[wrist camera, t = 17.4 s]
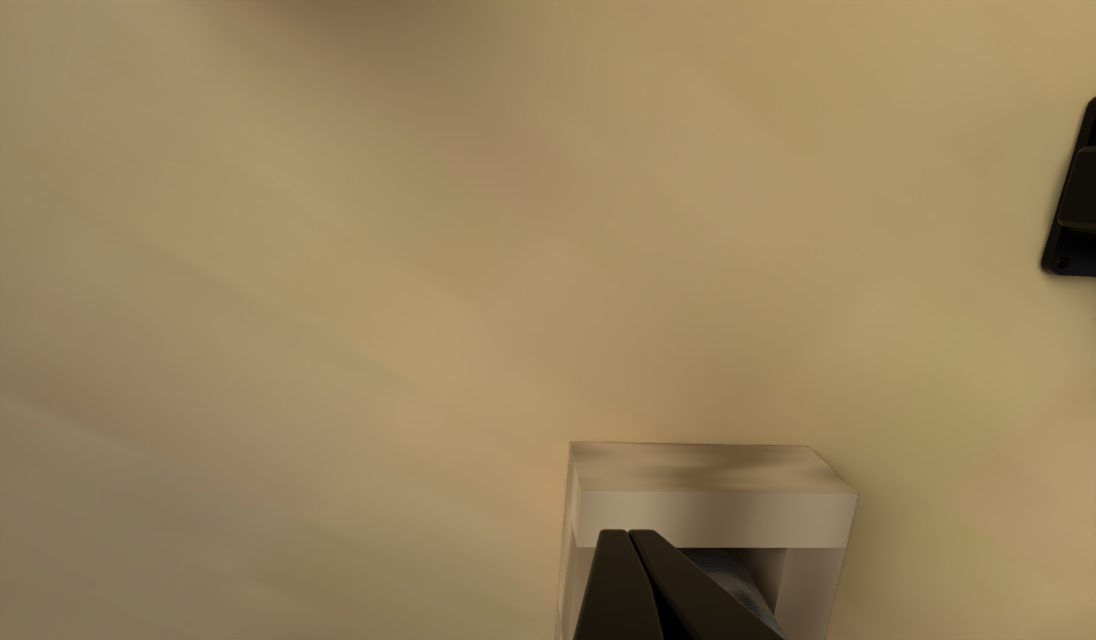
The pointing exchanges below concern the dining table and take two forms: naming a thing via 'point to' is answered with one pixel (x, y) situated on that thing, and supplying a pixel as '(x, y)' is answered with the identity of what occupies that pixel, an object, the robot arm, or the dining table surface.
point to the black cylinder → (733, 579)
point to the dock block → (715, 518)
